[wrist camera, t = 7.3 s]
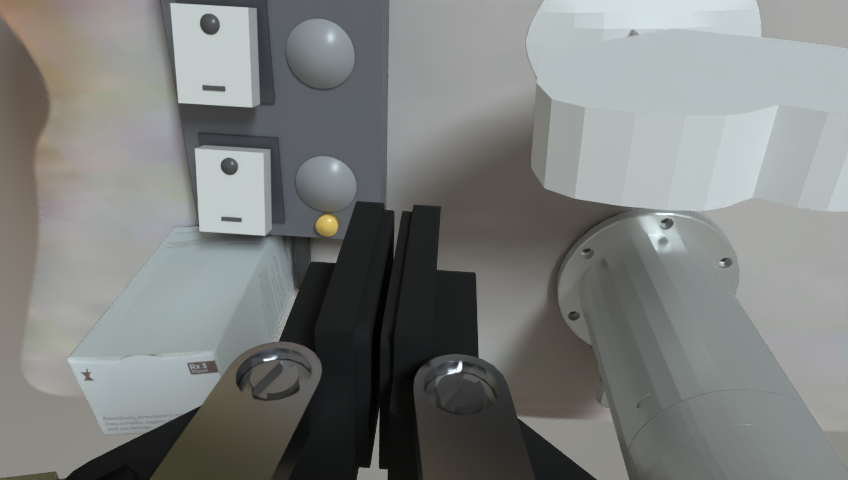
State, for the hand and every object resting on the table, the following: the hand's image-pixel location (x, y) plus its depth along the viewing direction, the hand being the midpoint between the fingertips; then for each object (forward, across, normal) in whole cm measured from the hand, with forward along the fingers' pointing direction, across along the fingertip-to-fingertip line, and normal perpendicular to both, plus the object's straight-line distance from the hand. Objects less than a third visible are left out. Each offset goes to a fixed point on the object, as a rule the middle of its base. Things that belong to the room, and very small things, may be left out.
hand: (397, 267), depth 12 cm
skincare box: (+27, +14, +18) cm, 36 cm away
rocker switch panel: (+27, +9, +5) cm, 29 cm away
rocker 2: (+22, +12, +10) cm, 27 cm away
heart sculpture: (+27, -12, +1) cm, 30 cm away
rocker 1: (+22, +12, +2) cm, 25 cm away
